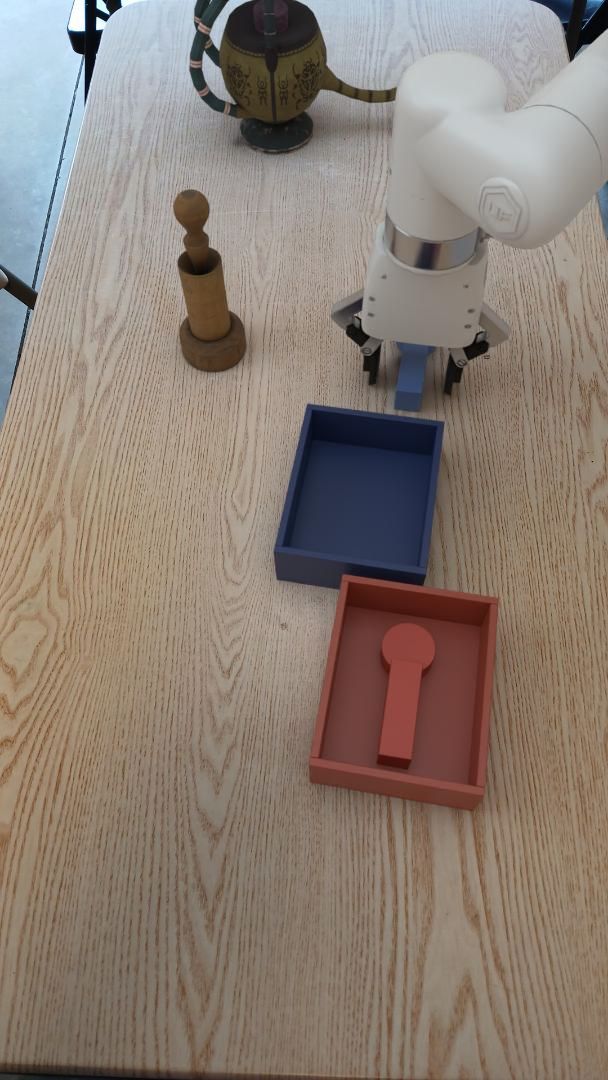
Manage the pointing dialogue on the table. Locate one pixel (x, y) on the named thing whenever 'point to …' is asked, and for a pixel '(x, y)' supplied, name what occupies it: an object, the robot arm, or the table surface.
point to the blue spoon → (411, 375)
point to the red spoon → (402, 690)
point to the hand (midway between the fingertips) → (411, 377)
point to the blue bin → (359, 498)
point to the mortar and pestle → (205, 293)
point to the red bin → (444, 700)
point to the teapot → (269, 70)
